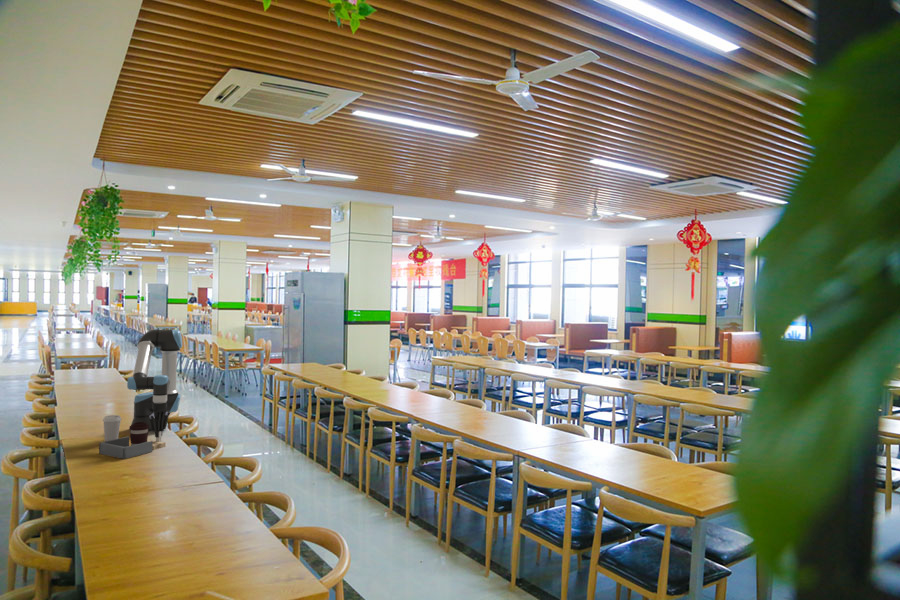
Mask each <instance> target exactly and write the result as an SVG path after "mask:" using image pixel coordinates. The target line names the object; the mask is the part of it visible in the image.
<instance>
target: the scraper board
mask: <svg viewBox="0 0 900 600" xmlns="http://www.w3.org/2000/svg"><path fill="white" fill-rule="evenodd" d="M149 441H153V446H152V451H155V450H159V449H163V448H166V444H167V443H166V442H163V441H161V442H159V441H156V440H151V439H147V442H149Z"/></svg>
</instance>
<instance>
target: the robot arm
mask: <svg viewBox="0 0 900 600" xmlns="http://www.w3.org/2000/svg"><path fill="white" fill-rule="evenodd" d="M155 348H157V349H158V348H159V351H160V353H162V355H161V359H162V360H161V374H158V375H154V376H148V373H149V370H150V369H149V368H150V363H151V359H152V358H151V357H152V353H153V351H154V350H155ZM182 348H183V337H182V332H181V330H178V329H151V330H149V331H147V332H145V333H144V334H143V335H142V336H141V337H140V338H139V340H138V342H137V349H138V351H137V355H136V360H135V363H134V364H135V365H134V370H133V375H132V376H129V377H128V378H127V382H126V386H127V389H128V390H129V391H130V390H133V391H134V390H135V391H136V390H139V391H140V390H153V391H148V392H142V393H138V394H136V395H135V396H134V399H133V400H134V401H133V404H134V405H133V419H132V421H131V424H130V426H132V424H133V423H136V422H146V423H147V425H149V429H148V432H151V431H152V432H155V433H154V438H155V441H159V442H162V437H163V432H164V431H165V430H166V428H167V426H168V425H167V424H168V420H169V416H170V415H171V413H176V412H177V411H178V410H179V407H180V402H181V401H180V400H181V395H182V394H180V393H179V390H178V389H177V365H178V364H177V362H178V361H177V360H178V353H179V352H180V351H181V350H180V349H182Z"/></svg>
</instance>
